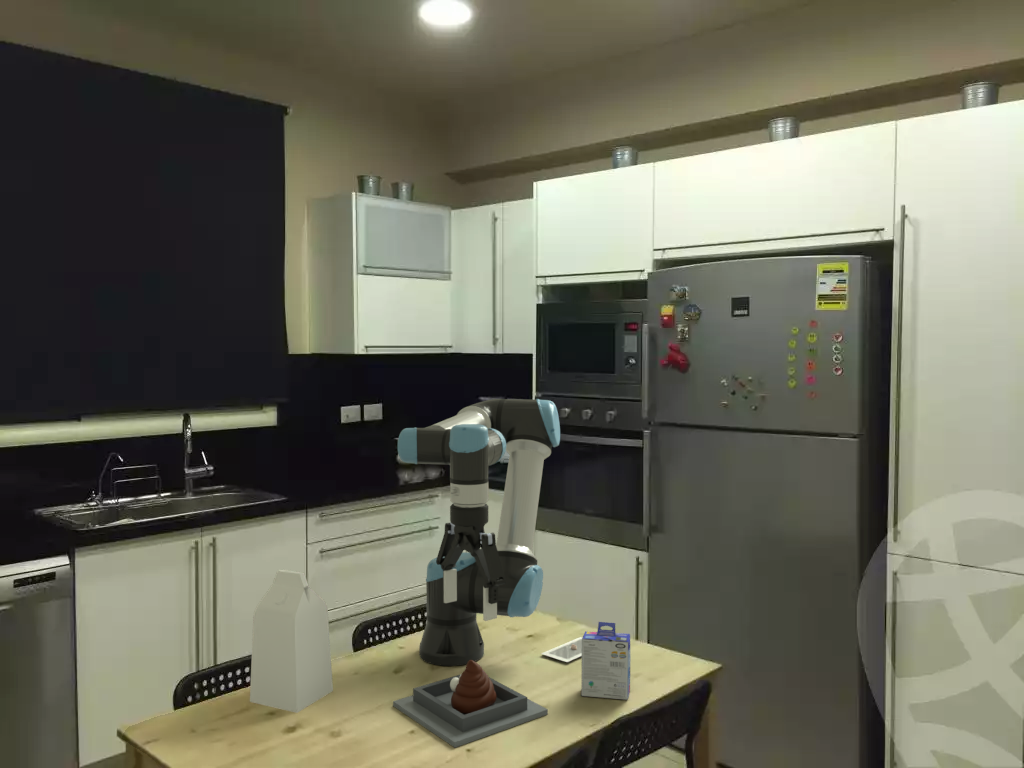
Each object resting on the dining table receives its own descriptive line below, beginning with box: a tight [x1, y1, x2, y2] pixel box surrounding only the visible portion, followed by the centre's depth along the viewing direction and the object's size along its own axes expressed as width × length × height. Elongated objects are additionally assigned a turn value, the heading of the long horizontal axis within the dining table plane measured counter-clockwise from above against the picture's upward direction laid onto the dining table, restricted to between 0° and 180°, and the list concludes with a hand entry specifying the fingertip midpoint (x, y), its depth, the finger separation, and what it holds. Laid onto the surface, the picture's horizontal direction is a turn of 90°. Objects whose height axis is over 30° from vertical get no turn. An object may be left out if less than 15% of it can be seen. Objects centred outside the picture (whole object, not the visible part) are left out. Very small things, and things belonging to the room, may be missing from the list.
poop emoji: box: [450, 660, 496, 714], centre depth 165 cm, size 10×8×9 cm
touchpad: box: [540, 636, 583, 663], centre depth 196 cm, size 8×15×2 cm, turn 138°
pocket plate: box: [392, 673, 549, 748], centre depth 165 cm, size 22×22×4 cm
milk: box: [249, 568, 334, 714], centre depth 171 cm, size 12×12×26 cm
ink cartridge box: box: [580, 621, 631, 700], centre depth 172 cm, size 10×6×14 cm, turn 78°
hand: (469, 610), depth 164 cm, fingers open, 13 cm apart
